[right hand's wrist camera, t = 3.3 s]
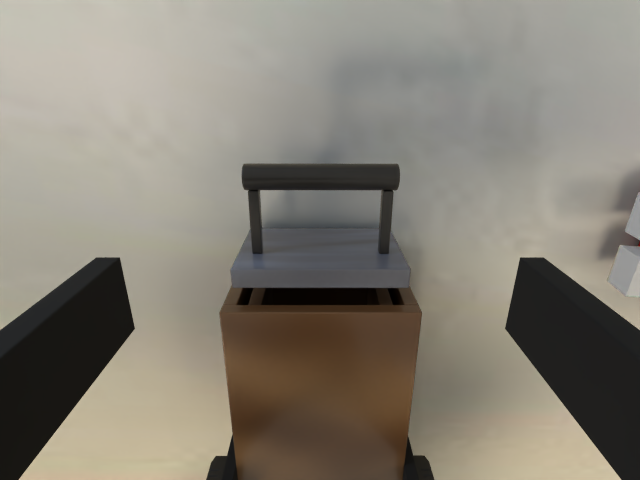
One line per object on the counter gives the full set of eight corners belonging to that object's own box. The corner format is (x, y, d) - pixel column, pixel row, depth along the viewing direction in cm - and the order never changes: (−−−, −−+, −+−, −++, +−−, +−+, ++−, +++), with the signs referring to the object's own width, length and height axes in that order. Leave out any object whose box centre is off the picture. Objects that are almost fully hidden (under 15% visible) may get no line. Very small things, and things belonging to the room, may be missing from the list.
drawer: (245, 151, 25) (221, 172, 19) (395, 152, 25) (420, 172, 19) (262, 406, 33) (249, 479, 27) (376, 406, 33) (390, 479, 27)
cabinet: (246, 251, 29) (219, 312, 21) (393, 251, 29) (422, 312, 21) (259, 426, 35) (242, 524, 27) (380, 426, 35) (397, 523, 27)
